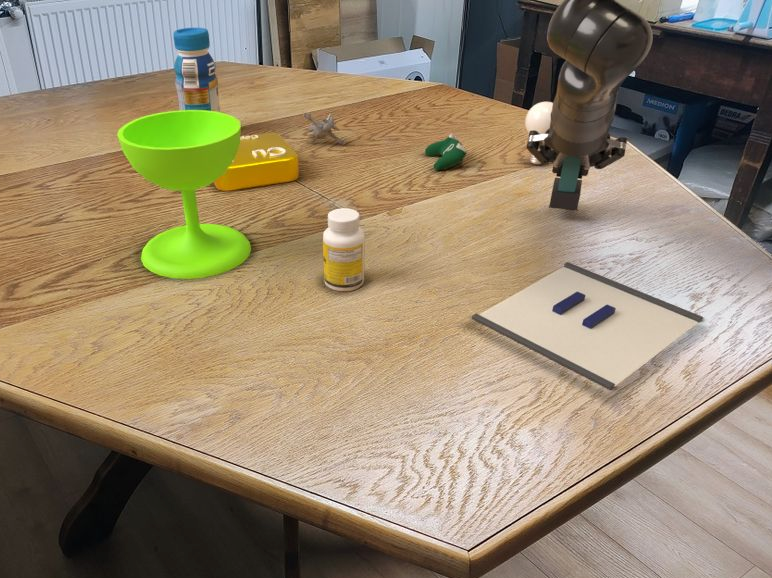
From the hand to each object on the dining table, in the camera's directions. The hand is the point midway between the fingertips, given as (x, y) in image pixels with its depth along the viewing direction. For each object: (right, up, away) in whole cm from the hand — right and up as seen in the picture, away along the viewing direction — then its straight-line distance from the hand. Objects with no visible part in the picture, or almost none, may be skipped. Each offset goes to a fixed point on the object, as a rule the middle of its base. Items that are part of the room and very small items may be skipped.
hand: (569, 171), depth 104 cm
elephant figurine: (-38, +14, +32) cm, 51 cm away
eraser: (-1, -4, +1) cm, 5 cm away
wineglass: (-56, -13, -5) cm, 58 cm away
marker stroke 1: (-8, -22, -22) cm, 32 cm away
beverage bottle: (-62, +17, +38) cm, 75 cm away
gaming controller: (-15, +7, +21) cm, 27 cm away
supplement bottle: (-35, -18, -13) cm, 42 cm away
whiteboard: (-7, -25, -23) cm, 35 cm away
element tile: (-50, +5, +20) cm, 55 cm away
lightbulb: (+1, +6, +19) cm, 20 cm away
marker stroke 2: (-6, -24, -24) cm, 34 cm away
